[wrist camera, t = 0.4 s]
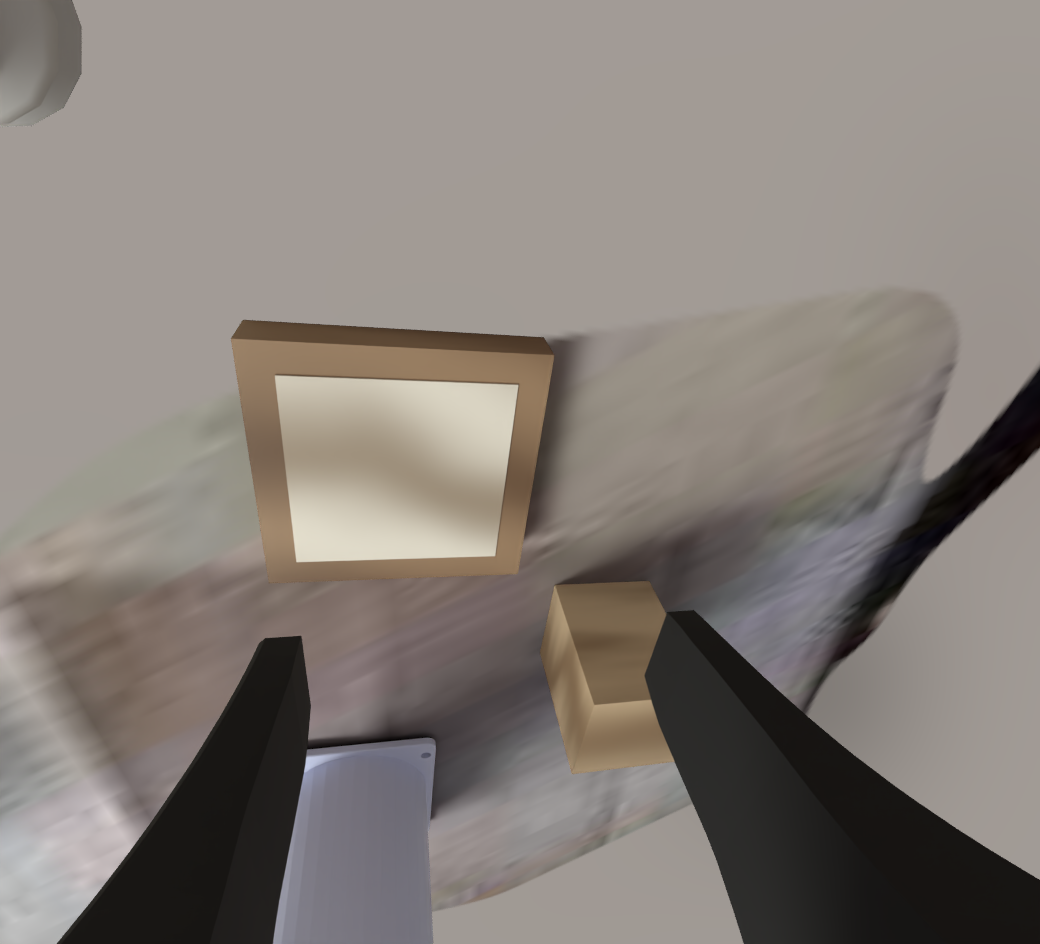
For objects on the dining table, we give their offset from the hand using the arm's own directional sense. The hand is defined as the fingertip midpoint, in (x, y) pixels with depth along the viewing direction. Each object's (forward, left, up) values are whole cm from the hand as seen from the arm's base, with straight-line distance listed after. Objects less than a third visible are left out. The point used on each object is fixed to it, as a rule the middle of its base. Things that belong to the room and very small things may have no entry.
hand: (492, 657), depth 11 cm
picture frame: (-1, +2, -10) cm, 10 cm away
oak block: (-10, -7, -10) cm, 16 cm away
